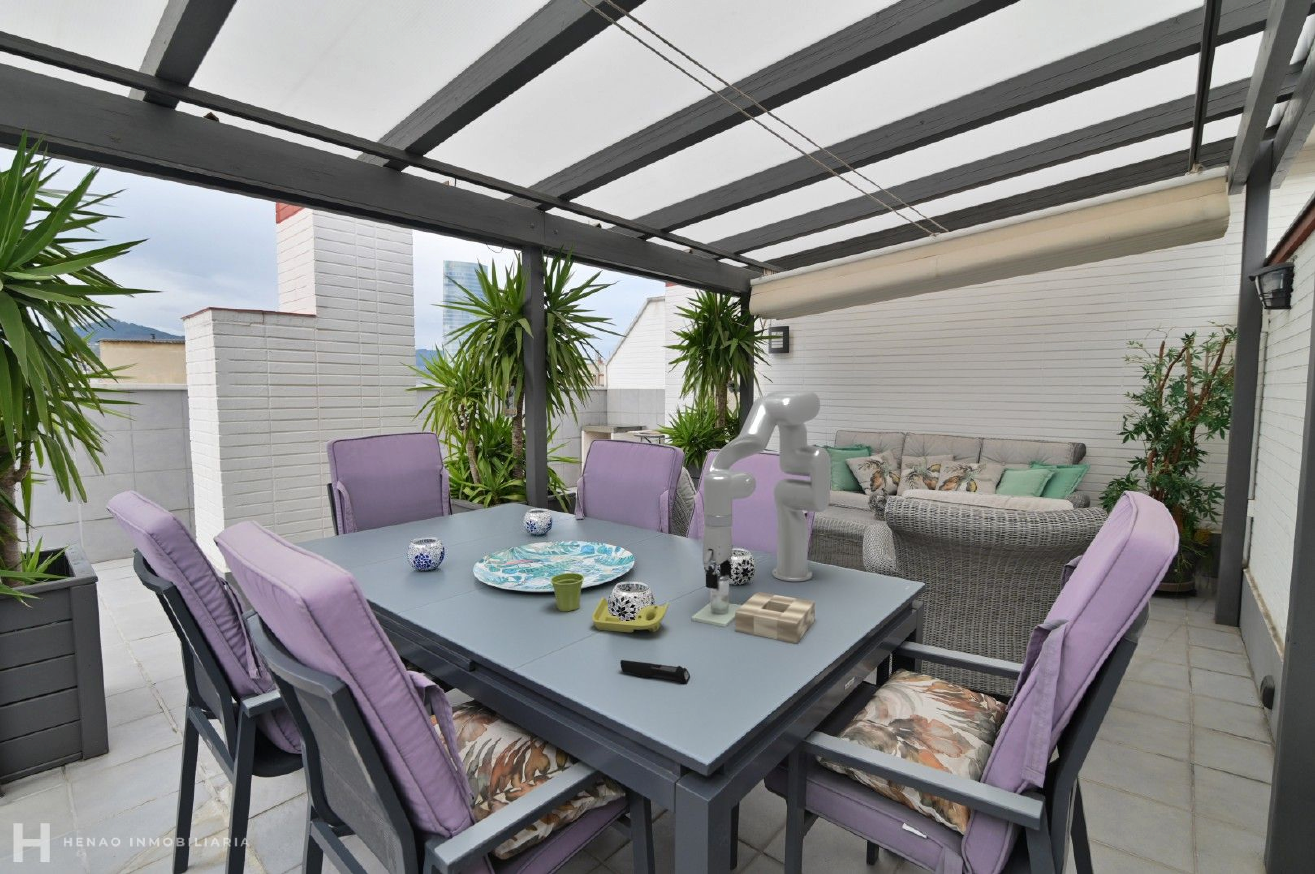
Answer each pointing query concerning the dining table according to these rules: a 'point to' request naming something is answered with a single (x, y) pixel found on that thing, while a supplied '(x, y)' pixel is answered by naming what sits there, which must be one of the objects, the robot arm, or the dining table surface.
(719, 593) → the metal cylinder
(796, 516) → the robot arm
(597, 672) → the dining table surface
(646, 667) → the electric trimmer
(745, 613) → the bore block
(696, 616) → the mat
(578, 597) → the plant pot
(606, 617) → the plastic component
